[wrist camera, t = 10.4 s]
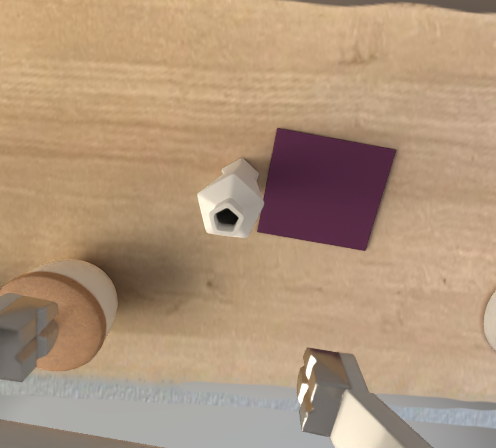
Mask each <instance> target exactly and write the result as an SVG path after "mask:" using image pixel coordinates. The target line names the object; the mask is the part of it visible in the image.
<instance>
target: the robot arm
mask: <svg viewBox="0 0 496 448" xmlns="http://www.w3.org/2000/svg"><path fill="white" fill-rule="evenodd" d="M58 314H59V310H58V304H57V303H56V302H54V301H49V300H44V299H39V298H34V297H29V296H23V295H18V294H13V293H7V294H4V295H2V296H1V297H0V379H3V380H10V381H17V382H23V381H24V379H25V378H26V377H27V376H28V375H29V374H30V373H31V372H32V371H33V370H34V369H35V367H36V366H37V359H39V358H42V357H44V356H46V355H47V354H48V353H49V352H50V351H51V350H52V348H53V346H54V344H55V342H56V340H57V337H58V333H59V325H58V324H57V322H56V321H55V320H54V318H55V317H56V316H57V315H58ZM484 331H485V335H486V338H487V340H488V342H489V344H490V345H491V347H492V348H493V349H494V350H495V351H496V290H495V292H494V293H493V295H492V296H491V298H490V300H489V302H488V305H487V307H486V310H485V314H484ZM303 359H304V366H303V367H301V368H300V371H299V375H298V381H297V398H298V401H299V402H300V403H301V407H300V411H299V414H300V422H301V430H302V432H308V433H312V434H317V435H322V436H327V437H330V440H331V442H332V443H333V444H334V446H335V447H336V448H433V447H432V446H431V445H430V444H429V443H428V442H426V441H425V440H424V439H423V438H422V437H421V436H420V435H419V434H418V433H417V432H415V431H414V430H413V429H412V428H411V427H410V426H409V425H408V424H407V423H406V422H405V421H403V420H402V419H401V418H400V417H399V416H398V415H397V414H396V413H395V412H394V411H392V410H391V409H390V408H389V407H388V406H387V405H386V404H385V403H384V402H383V401H381V400H380V399H379V398H378V397H377V396H376V395H375V394H373V393H369V391H368V388H367V386H366V383H365V381H364V378H363V376H362V373H361V371H360V368H359V366H358V363H357V360H356V358H355V356H354V355H353V354H348V353H341V352H332V351H326V350H320V349H314V348H309V347H307V348H306V350H305V353H304V356H303ZM0 448H163V447H157V446H151V445H146V444H140V443H134V442H128V441H123V440H117V439H111V438H104V437H99V436H93V435H88V434H82V433H76V432H70V431H64V430H59V429H53V428H47V427H41V426H36V425H30V424H24V423H18V422H13V421H7V420H1V419H0Z"/></svg>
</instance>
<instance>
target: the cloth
mask: <svg viewBox="0 0 496 448" xmlns="http://www.w3.org/2000/svg"><path fill="white" fill-rule="evenodd" d="M395 152H396V150H394V149H389V148H383V147H378V146H373V145H367V144H362V143H356V142H351V141H345V140H340V139H334V138H329V137H323V136H318V135H312V134H307V133H302V132H296V131H291V130H285V129H280V128H277V133H276V138H275V143H274V148H273V153H272V158H271V163H270V169H269V174H268V179H267V184H266V189H265V194H264V199H263V201H264V206H263V208H262V210H261V215H260V220H259V225H258V230H257V232H260V233H266V234H272V235H278V236H283V237H289V238H295V239H300V240H306V241H312V242H317V243H323V244H329V245H335V246H340V247H346V248H352V249H357V250H363V251H365V250H366V246H367V243H368V240H369V237H370V233H371V230H372V227H373V224H374V221H375V217H376V214H377V211H378V208H379V204H380V201H381V198H382V195H383V191H384V188H385V185H386V182H387V178H388V175H389V172H390V169H391V165H392V162H393V159H394V156H395Z"/></svg>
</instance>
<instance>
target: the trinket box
mask: <svg viewBox="0 0 496 448" xmlns="http://www.w3.org/2000/svg"><path fill="white" fill-rule="evenodd" d="M7 293H13V294H18V295H23V296H29V297H34V298H39V299H44V300H49V301H54V302H56V303H57V304H58V310H59V314H58V315H57V316H56V317H55V318H54V320H55V321H56V322H57V324H58V325H59V333H58V337H57V340H56V342H55V344H54V346H53V348H52V350H51V351H50V352H49V353H48V354H47V355H46V356H44V357H42V358H39V359H37V366H36V368H40V369H44V370H50V371H66V370H71V369H75V368H78V367H80V366H83V365H84V364H86V363H88V362H89V361H90V360H91V359H92V358H94V357H95V355H96V354H97V352H98V351H99V350H100V348H101V346H102V344H103V342H104V340H105V339H106V337H107V336H108V334H109V332H110V330H111V328H112V326H113V323H114V321H115V318H116V314H117V307H118V299H117V293H116V290H115V287H114V285H113V283H112V281H111V280H110V278H109V277H108V276H107V275H106V273H105V272H103V271H102V270H101V269H100V268H98V267H97V266H95V265H93V264H91V263H89V262H85V261H82V260H76V259H61V260H55V261H51V262H48V263H45V264H42V265H40V266H37V267H35V268H33V269H31V270H29V271H28V272H26V273H24V274H23V275H21V276H19V277H17V278H15V279H13V280H11V281H10V282H9V283H7V284H6V285H5V286H3V287H2V288H1V290H0V297H1V296H2V295H4V294H7Z"/></svg>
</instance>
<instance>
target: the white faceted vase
mask: <svg viewBox="0 0 496 448" xmlns="http://www.w3.org/2000/svg"><path fill="white" fill-rule="evenodd" d="M258 177H259V173H258V172H257V171H256V170H255V169H254V168H253V167H252V166H251V165H250V164H249V163H248V162H246V161H245V160H244V159H243V158H240V159H238V160H237V161H235V162H233V163H231V164H229V165H228V166H226V167H224V168H223V169H222V175H221V176H219V177H218V178H217V179H216V180H214V181H213V182H212V183H210V184H209V185H208V186H207V187H205V188H204V189H203V190H201V191H200V192H199V193H198V201H199V205H200V209H201V213H202V217H203V222H204V226H205V230H206V232H207V233H210V234H217V235H224V236H232V237H240V238H247V237H248V236H249V234H250V232H251V230H252V228H253V226H254V224H255V222H256V220H257V218H258V216H259V214H260V212H261V210H262V208H263V206H264V201H263V198H262V195H261V193H260V190H259V187H258V184H257V182H256V181H257V179H258Z"/></svg>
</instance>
